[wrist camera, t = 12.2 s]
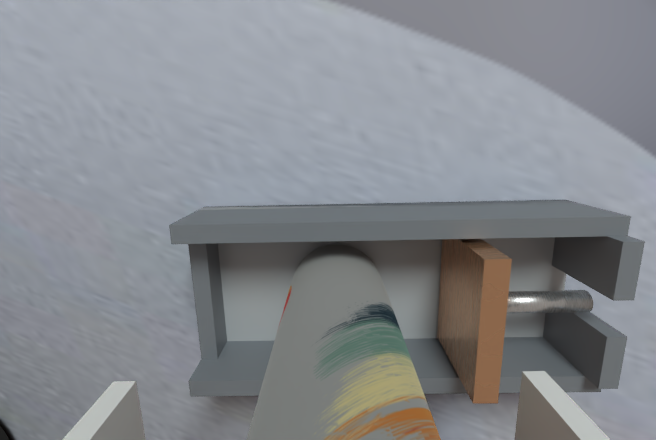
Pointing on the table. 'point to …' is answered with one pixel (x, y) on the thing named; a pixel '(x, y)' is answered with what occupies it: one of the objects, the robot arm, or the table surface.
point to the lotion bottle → (340, 359)
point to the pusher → (486, 311)
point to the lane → (410, 282)
